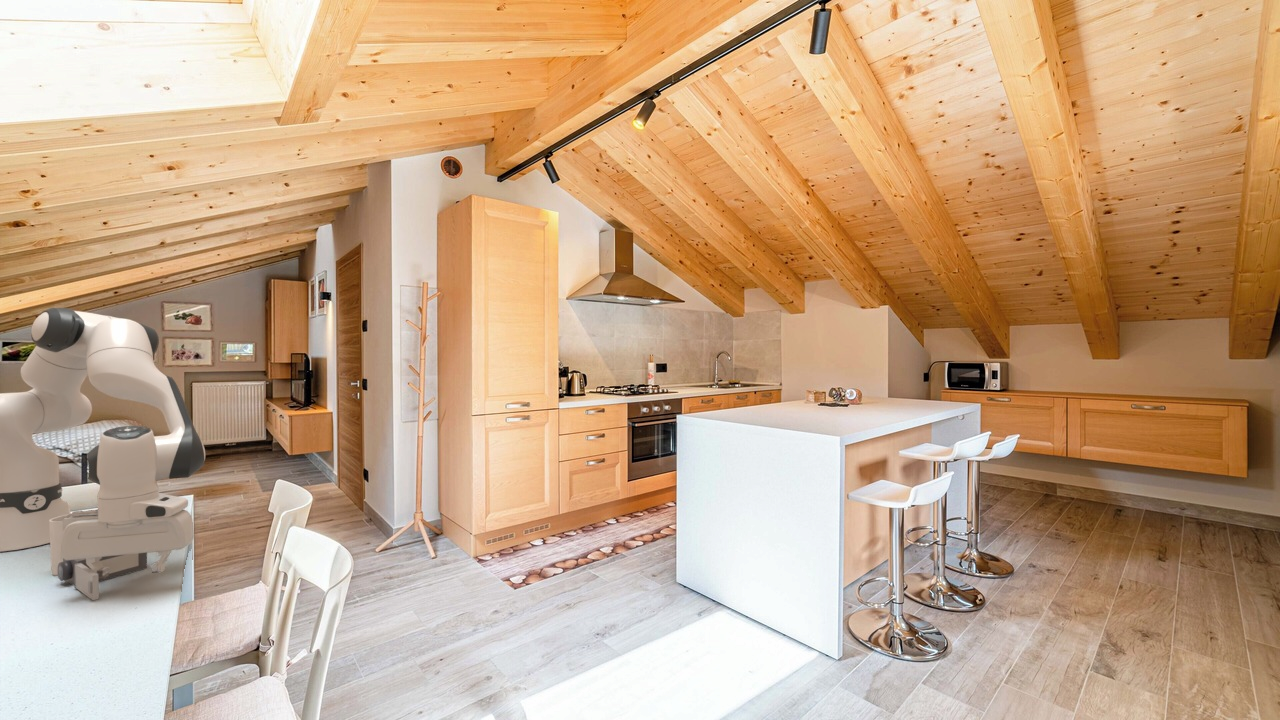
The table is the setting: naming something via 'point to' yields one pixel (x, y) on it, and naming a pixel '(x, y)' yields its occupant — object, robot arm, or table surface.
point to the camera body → (115, 563)
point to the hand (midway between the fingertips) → (130, 574)
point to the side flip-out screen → (86, 581)
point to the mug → (56, 542)
